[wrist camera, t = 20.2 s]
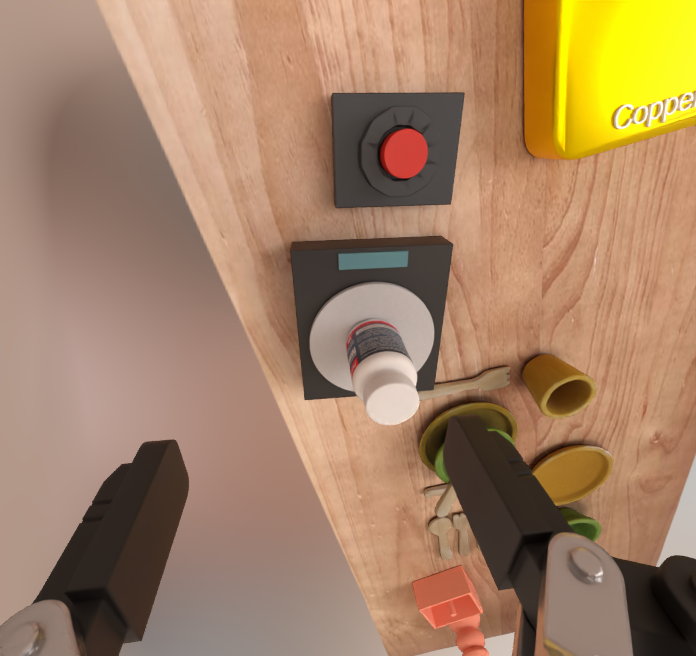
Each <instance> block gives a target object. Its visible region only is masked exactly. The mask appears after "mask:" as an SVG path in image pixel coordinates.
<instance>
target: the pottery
mask: <svg viewBox="0 0 696 656" xmlns="http://www.w3.org/2000/svg"><path fill="white" fill-rule="evenodd" d="M412 584H413V588H414V592H415V597H416V601H417V605H418V609H419V611H420V612H421V613H422V615H423V616H424V617H425V618H426V619H427V620H428V622H429V623H430V624H431V625H432V626H433V628H434V629H437V628H440V627H443V626H446V625H449V627H450V628H451V629H452V630H453V631H454V632H455V633H456V634H458V635H457V638H456V642H457V646H458V648H459V649H460V650H461V651H462V652H463V655H462V656H489V653H488V651H487V650H486V649H485V648H483V647H484V645H485V639H484V636H483V634H482V633H481V631H480V630H478V627H479V624H480V615H479V614H482V613H484V612H483V610H482V607H481V604H480V602H479V599H478V596H477V594H476V591H475V588H474V586H473V584H472V583H471V581H470V579H469V578H468V576H467V574H466V573H465V571H464V569H463V568H462V566H461V565H460V566H457V567H454V568H452V569H449V570H446V571H443V572H440V573H437V574H435V575H432V576H429V577H426V578H423V579H420V580H418V581H415V582H412Z"/></svg>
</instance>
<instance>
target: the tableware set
mask: <svg viewBox="0 0 696 656" xmlns="http://www.w3.org/2000/svg"><path fill="white" fill-rule="evenodd" d="M509 372H510V367H501V368H495V369H490V370H487V371H484V372H483V373H482V374H481V375H479V376H478V377H476V378H473V379H469V380H462V381H456V382H450V383H443V384H435V385H434V390H431V391H418V392H417V393H418V395H419V401H423V400H427V399H432V398H436V397H440V396H444V395H448V394H453V393H457V392H461V391H466V390H470V389H476V388H478V389H482V390H485V391H491V390H495V389H498V388H502V387H505V386H507V385H509V380H508V378H509V377H510V375H509V374H507V373H509ZM522 378H523V381H524V383H525V384H526V386H527V388H528V390H529V391H530V393H531V395H532V397H533V398H534V400H535V402H536V403H537V405H538V407H539V409H540V410H541V412H542V413H543V414H544V415H545V416H547V417H550V418H554V419H562V418H567V417H570V416H573V415H575V414H577V413H579V412H580V411H582V410H583V409H584V408H585V407H587V406H588V405H589V403H590V402H591V401H592V400H593V398H594V396H595V394H596V384H595V382H594V380H593V379H592V378H591V377H589V376H587V375H586V374H584V373H582V372H581V371H579V370H577V369H576V368H574V367H572V366H570V365H569V364H567V363H565V362H564V361H562V360H560V359H559V358H557V357H555V356H553V355H540V356H538V357H536V358H534V359H532V360H531V361H530V362H529V363H528V364H527V365H526V366H525V368H524V370H523V373H522ZM506 379H507V380H506ZM473 414H476V415H478V416H479V417H480V419H481V420H482V422H483V423H484V425H485V426H486V428H487V429H488V431H495V430H496V431H498V432H499V433H500V434H501V435H503V436H504V437H505V438H506V439H508V440H509V441H510V442H511V443H512V444H513V445H514V447H515V444H514V442H515V440H516V437H517V432H518V426H517V422H516V420H515V418H514V416H513V415H512V414H511V413H510V411H508V410H507V409H505V408H504V407H502V406H499V405H496V404H492V403H486V402H473V403H466V404H461V405H458V406H455V407H453V408H450V409H448V410H447V411H445V412H443V413H442V414H440V415H439V416H438V417H437V418H436V419H434V420H433V422H432V423H431V424H430V425H429V426H428V427H427V429H426V430H425V432H424V433H423V436H422V438H421V441H420V446H419V453H420V457H421V459H422V461H423V462H424V464H425V465H426V466H427V467H428V468H430V469H431V470H433V471H434V472H436V474H437V475H438V477H439V478H440V479H441V480H442V481H444V482H445V483H447V484H446V485H441V486H435V487H431V488H427V489H425V490H424V495H425V497H427V498H430V497H435V496H439V495H442V496H441V498H440V499H439V501H438V503H437V505H436V507H435V513H436V515H437V516H438V517H439V518H436V519H434V520H432V521H431V522H430V523H429V530H430V532H431V533H433V534H435V535H437V536H438V538H439V548H440V554H441V558H442V559H443V560H449V559H451V557H452V553H451V549H450V546H449V543H448V539H447V536H446V534H447V532H448V531H449V530H450V528H451V521H450V519H448V518H446V517H445V516H447V514H448V513H449V511H450V510H451V508H452V505H453V504H454V502H455V500H456V497H457V495H456V493H455V491H454V488H453V486H452V484H451V482H450V479H449V477H448V475H447V472H446V470H445V466H444V462H443V448H444V443H445V438H446V433H447V428H448V423H449V419H450V417H452V416H461V415H473ZM613 465H614V463H613V458H612V456H611V454H610V453H609V452H608V451H606V450H604V449H602V448H599V447H596V446H587V445H575V446H569V447H565V448H562V449H559V450H557V451H555V452H553V453H551V454H549V455H547V456H546V457H544V458H543V459H542V460H540V461H539V462H538V463H537V464H536V465H535V466H534V468H533V469H532V470H531V471H532V474H533V475H535V477H536V478H537V479H538V481H539V482H540V484H541V485H542V487H543V488H544V489H545V491H546V492H547V494H548V495H549V497H550V498H551V499H552V501H553V502H554V504H555V505H556V506H558V505H564V504H568V503H571V502H575V501H577V500H579V499H582V498H584V497H586V496H588V495H589V494H591V493H593V492H594V491H595V490H597V489H598V488H599V487H600V486H601V485H603V484H604V483H605V481H606V480H607V479H608V478H609V476H610V474H611V472H612V469H613ZM559 511H560V512H561V514H562V515H563V516H564V518H565V519H566V521H567V522H568V524H569V525H570V526H571V528H572V529H573V530H574V531H575V532H576V533H577V534H579V535H582V536H584V537H586V538H588V539H590V540H592V541H593V542H595V541H596V540H597V538H598V537H599V536H600V534H601V525H600V523H599V522H597V521H596V520H594V519H592V518H590V517H586V516H584V515H582V514H580V513H579V512H577V511H575V510H573V509H570V508H561V509H559ZM453 525H454V527H455V528H456V529H458V530H459V545H458V548H459V553H460V555H461V556H467V555H468V554H469V545H468V538H467V528H468V527H469V526H470V525H469V522H468V520H467V518H466V515H465V514H464V513H460V515H458V514H455V515H453ZM476 541H477V540H476ZM477 547H478V550H479V551H481V549H480V547H479V545H478V543H477Z"/></svg>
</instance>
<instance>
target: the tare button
mask: <svg viewBox="0 0 696 656" xmlns="http://www.w3.org/2000/svg"><path fill="white" fill-rule="evenodd" d="M427 155H428V148H427V143H426V141H425V139H424V137H423V136H422V135H421V134H420V133H419V132H418V131H416V130H413V129H401V130H396V131H394V132H392V133H391V134H389V135H388V136H387V137H386V138H385V140H384V141H383V143H382V146H381V149H380V161H381V164H382V166H383V168H384V169H385V171H386V172H387V173H389V174H390V175H392V176H395V177H398V178H403V179H405V178H410V177H413V176H415V175H416V174H418V173H419V172H420V171H421V169H422V168H423V167H424V165H425V163H426V160H427Z"/></svg>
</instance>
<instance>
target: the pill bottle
mask: <svg viewBox="0 0 696 656" xmlns="http://www.w3.org/2000/svg"><path fill="white" fill-rule="evenodd" d="M346 351H347V357H348V362H349V367H350V373H351V379H352V385H353V388H354V391H355V393H356V395H357V396H358V398H359V399H360V400H361V401H362V402H364V405H365V409H366V412H367V414H368V416H369V417H370V418H371V419H372V420H373V421H375V422H376V423H379V424H383V425H395V424H399V423H402V422H404V421H406V420H408V419H409V418H411V417H412V416H413V415H414V414H415V412H416V411H417V409H418V406H419V395H418V393H417V390H416V383H417V373H416V369H415V367H414V364H413V362H412V360H411V358H410V356H409V354H408V352H407V350H406V348H405V345H404V343H403V341H402V338H401V336H400V334H399V332H398V330H397V329H396V327H395V326H394V325H393V324H391V323H390V322H388V321H385V320H382V319H369V320H365V321H363V322H361V323H359V324H358V325H356V326H355V327H354V328H353V329H352V330H351V331H350V333H349V335H348V337H347V340H346Z"/></svg>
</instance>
